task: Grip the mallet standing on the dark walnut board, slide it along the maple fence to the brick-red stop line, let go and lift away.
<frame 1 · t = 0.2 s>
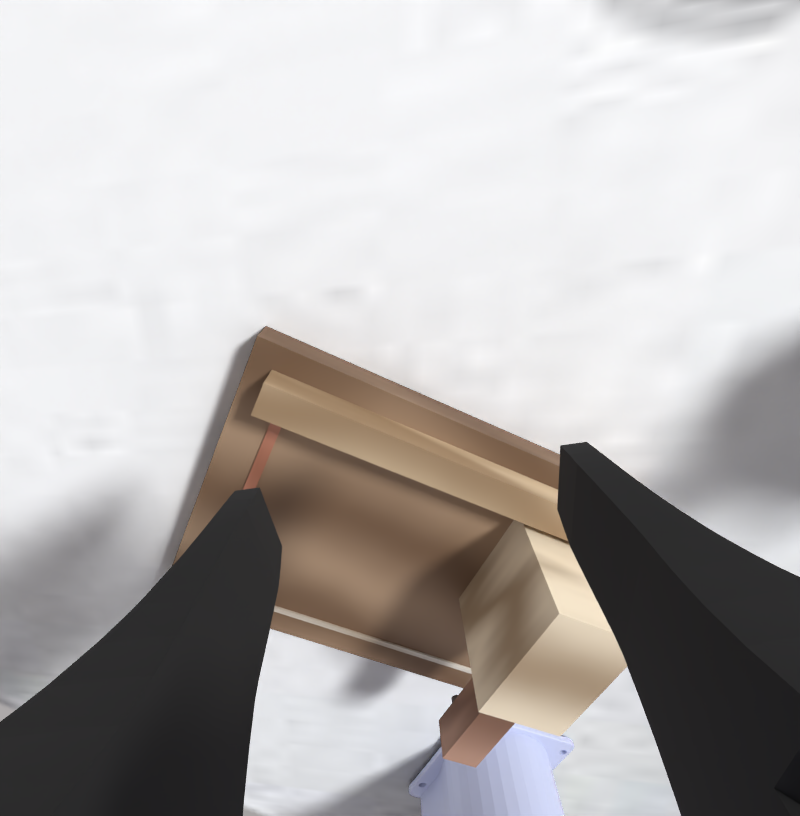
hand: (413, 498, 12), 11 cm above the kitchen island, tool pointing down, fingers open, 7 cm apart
mallet: (521, 570, 25), point 1 cm above the kitchen island, touching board
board: (401, 533, 25), on the kitchen island
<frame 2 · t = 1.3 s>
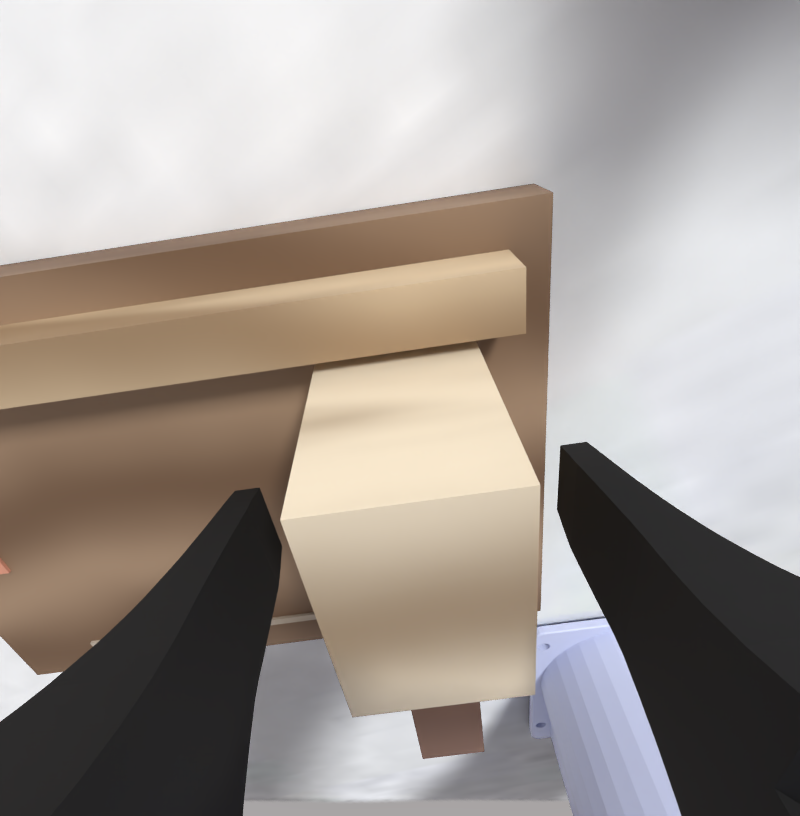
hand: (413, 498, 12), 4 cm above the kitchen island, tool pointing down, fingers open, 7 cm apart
mallet: (408, 435, 14), point 1 cm above the kitchen island, touching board
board: (234, 471, 16), on the kitchen island
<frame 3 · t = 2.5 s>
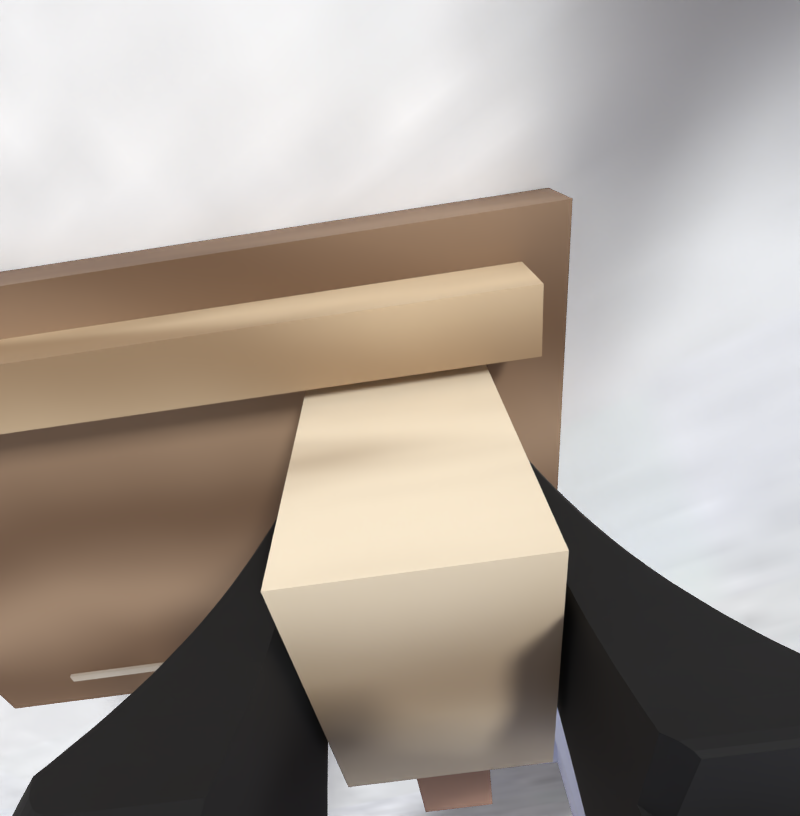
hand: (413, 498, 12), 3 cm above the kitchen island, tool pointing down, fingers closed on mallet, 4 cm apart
mallet: (409, 461, 13), point 1 cm above the kitchen island, touching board, gripper
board: (221, 495, 15), on the kitchen island
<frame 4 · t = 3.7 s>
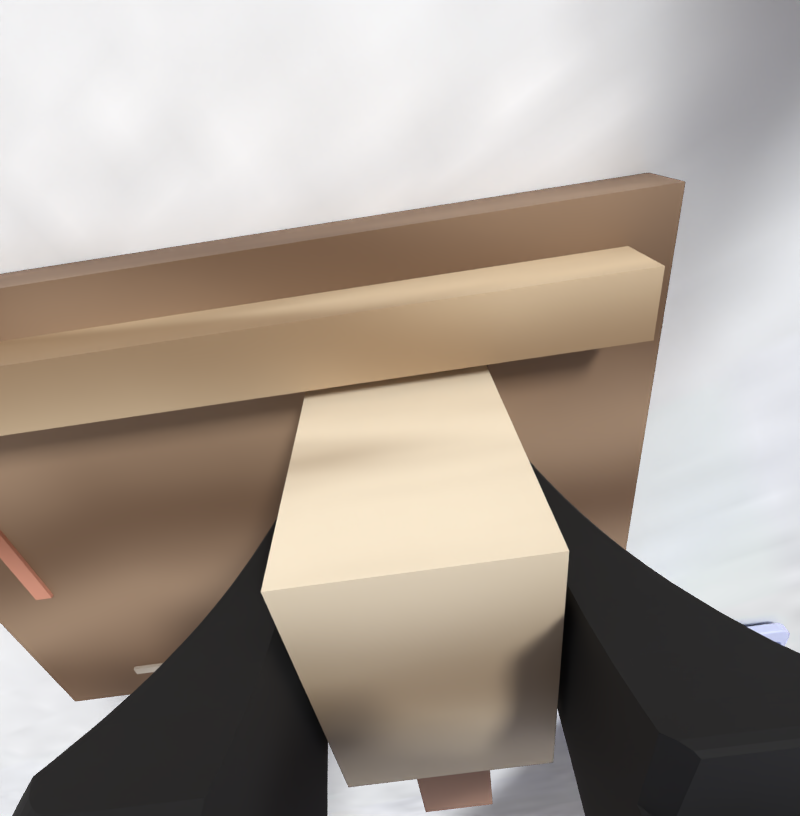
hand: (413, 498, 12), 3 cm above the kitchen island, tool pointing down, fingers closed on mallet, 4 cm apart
mallet: (409, 462, 13), point 2 cm above the kitchen island, touching gripper
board: (293, 486, 15), on the kitchen island
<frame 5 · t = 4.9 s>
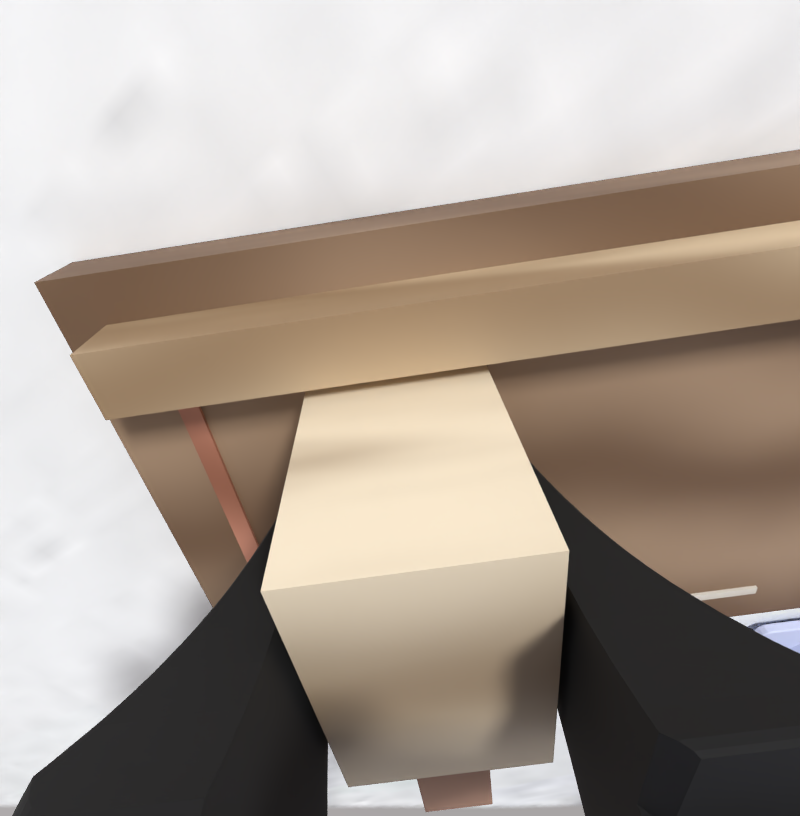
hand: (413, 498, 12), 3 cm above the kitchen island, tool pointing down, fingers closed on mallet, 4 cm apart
mallet: (409, 461, 13), point 2 cm above the kitchen island, touching gripper
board: (508, 456, 15), on the kitchen island
when the fingers open (3 cm above the kitchen island, at t = 6.7 s): mallet stays where it is, resting on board.
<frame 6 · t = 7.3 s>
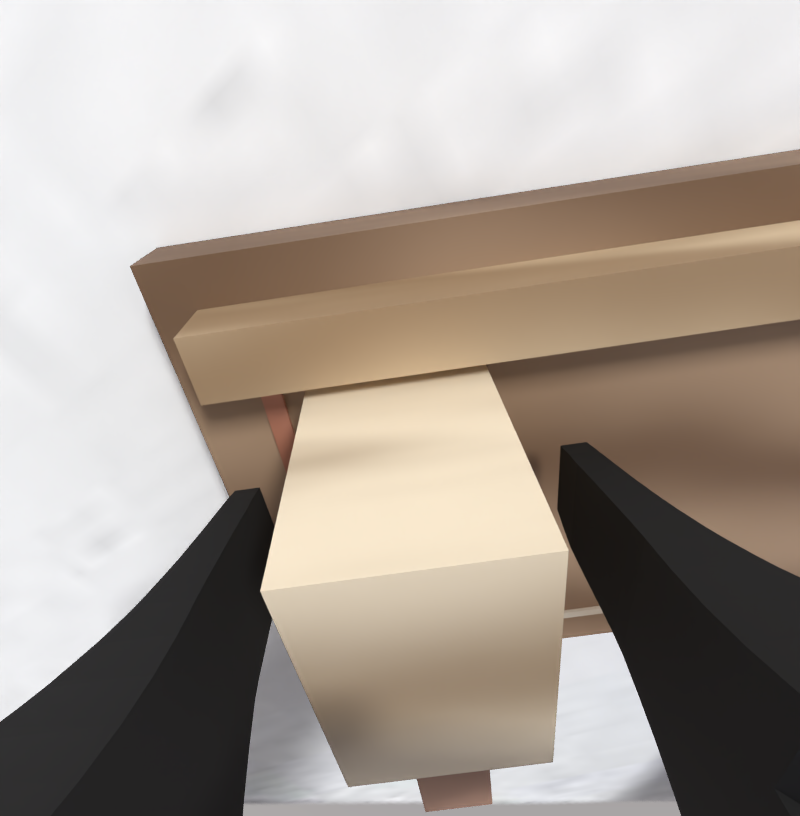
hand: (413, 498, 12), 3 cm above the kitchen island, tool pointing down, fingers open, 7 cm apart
mallet: (409, 461, 13), point 1 cm above the kitchen island, touching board
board: (574, 447, 15), on the kitchen island
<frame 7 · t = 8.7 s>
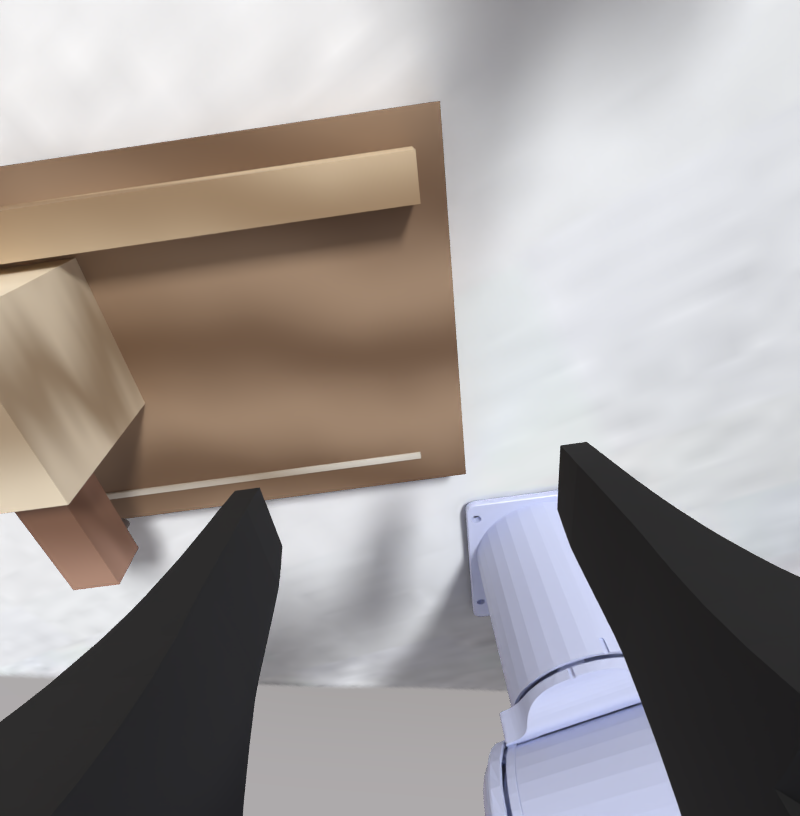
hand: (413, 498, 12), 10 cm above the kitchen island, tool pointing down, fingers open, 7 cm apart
mallet: (62, 344, 18), point 1 cm above the kitchen island, touching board
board: (214, 345, 20), on the kitchen island
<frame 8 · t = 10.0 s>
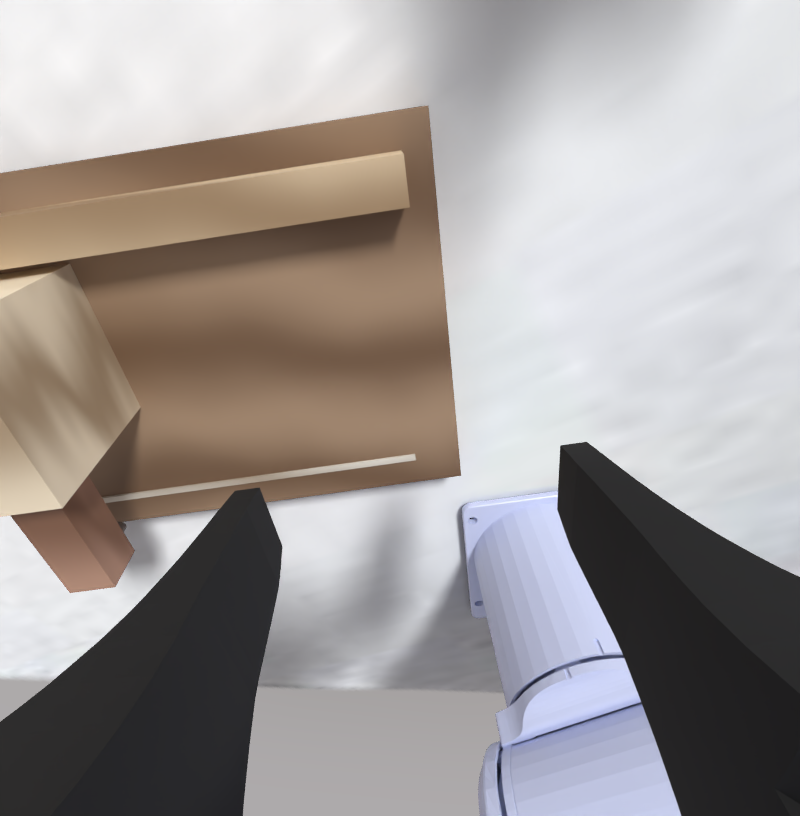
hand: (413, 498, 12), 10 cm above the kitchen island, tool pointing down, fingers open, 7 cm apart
mallet: (57, 349, 19), point 1 cm above the kitchen island, touching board
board: (209, 349, 21), on the kitchen island
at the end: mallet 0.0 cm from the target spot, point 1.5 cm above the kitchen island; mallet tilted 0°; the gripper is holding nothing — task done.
